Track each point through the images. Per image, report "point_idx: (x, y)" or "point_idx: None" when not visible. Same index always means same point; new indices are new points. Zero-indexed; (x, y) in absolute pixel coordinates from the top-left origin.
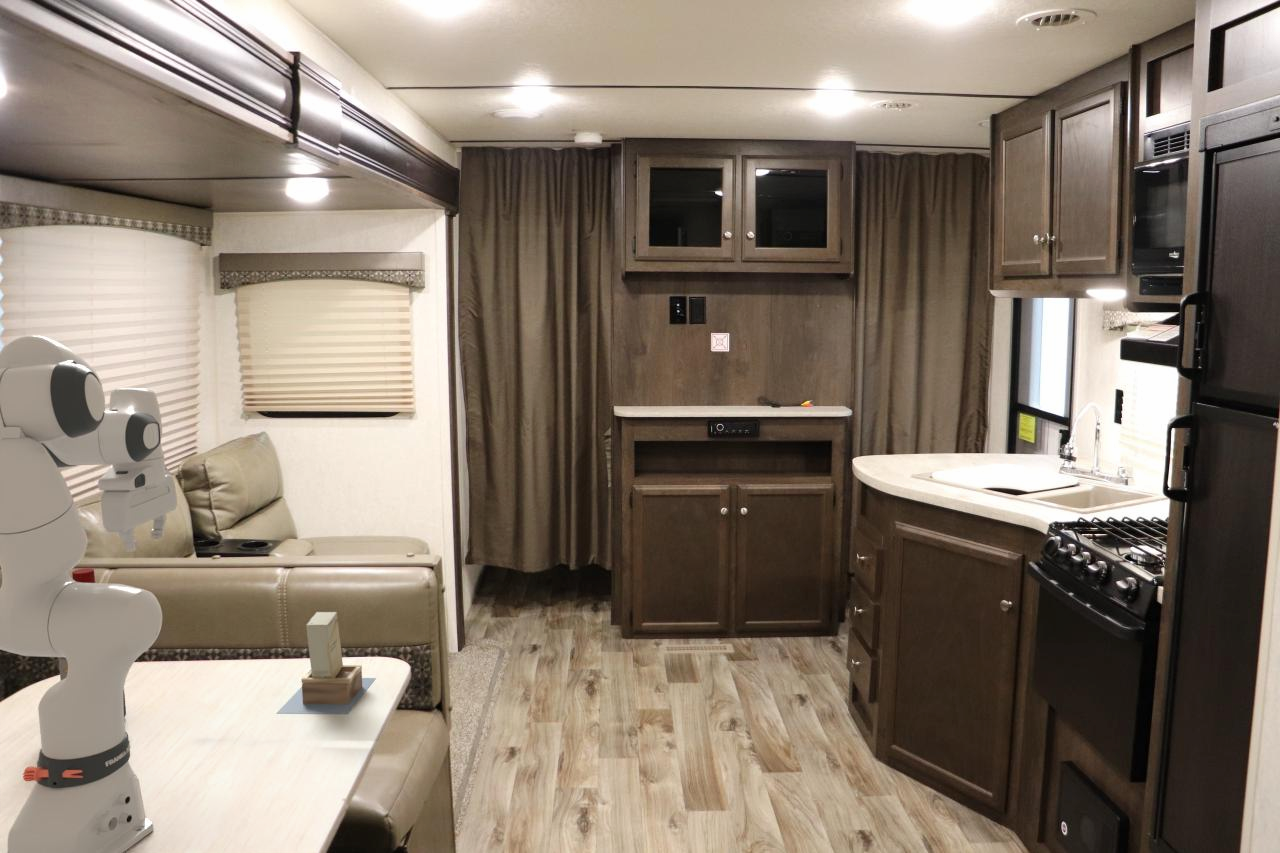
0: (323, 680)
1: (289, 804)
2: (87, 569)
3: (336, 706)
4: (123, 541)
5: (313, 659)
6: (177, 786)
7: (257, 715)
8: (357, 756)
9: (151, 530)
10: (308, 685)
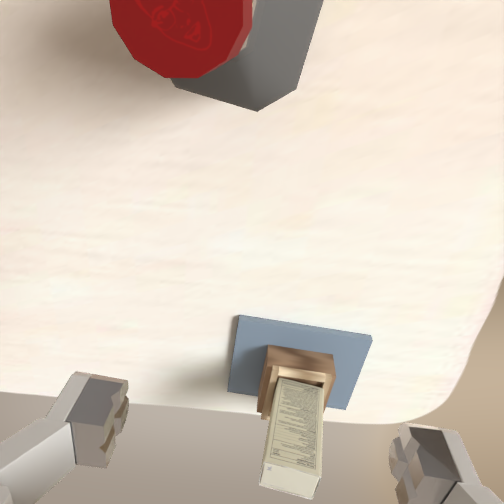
0: (267, 392)
1: (19, 359)
2: (211, 22)
3: (253, 379)
4: (30, 425)
5: (272, 409)
6: (35, 246)
7: (252, 290)
8: (129, 400)
9: (421, 476)
10: (265, 372)
